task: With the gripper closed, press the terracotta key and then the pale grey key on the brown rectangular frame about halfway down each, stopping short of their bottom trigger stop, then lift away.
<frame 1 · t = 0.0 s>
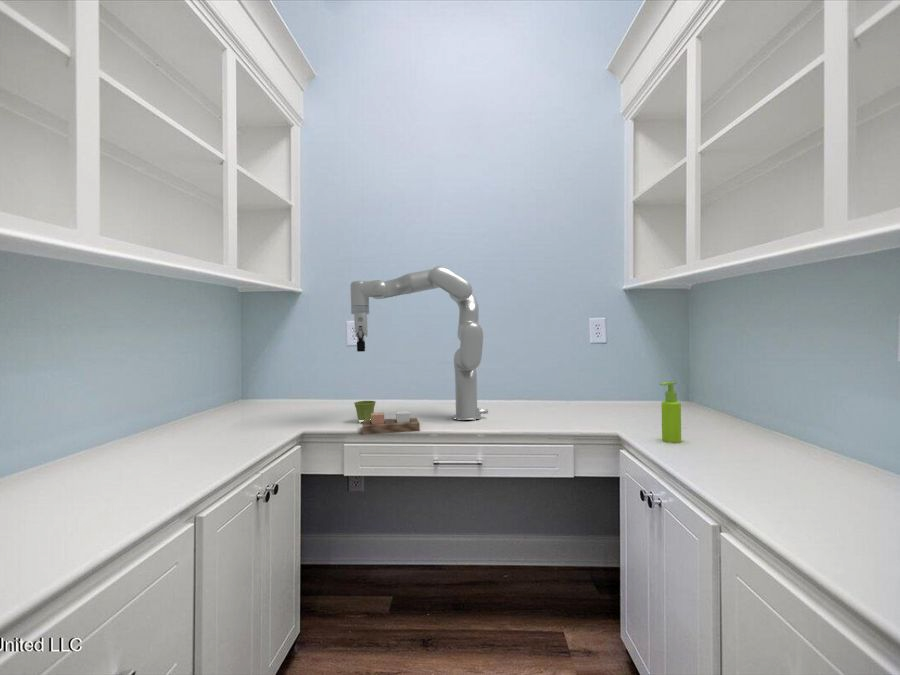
hand: (361, 350, 193), 31 cm above the worktop, fingers open, 9 cm apart
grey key: (402, 417, 184), point 4 cm above the worktop, slide at 0.0 cm
terracotta key: (377, 418, 182), point 4 cm above the worktop, slide at 0.0 cm
soap dispenser: (670, 441, 155), on the worktop
plant pot: (365, 422, 199), on the worktop
brown rectangular frame: (390, 429, 183), on the worktop
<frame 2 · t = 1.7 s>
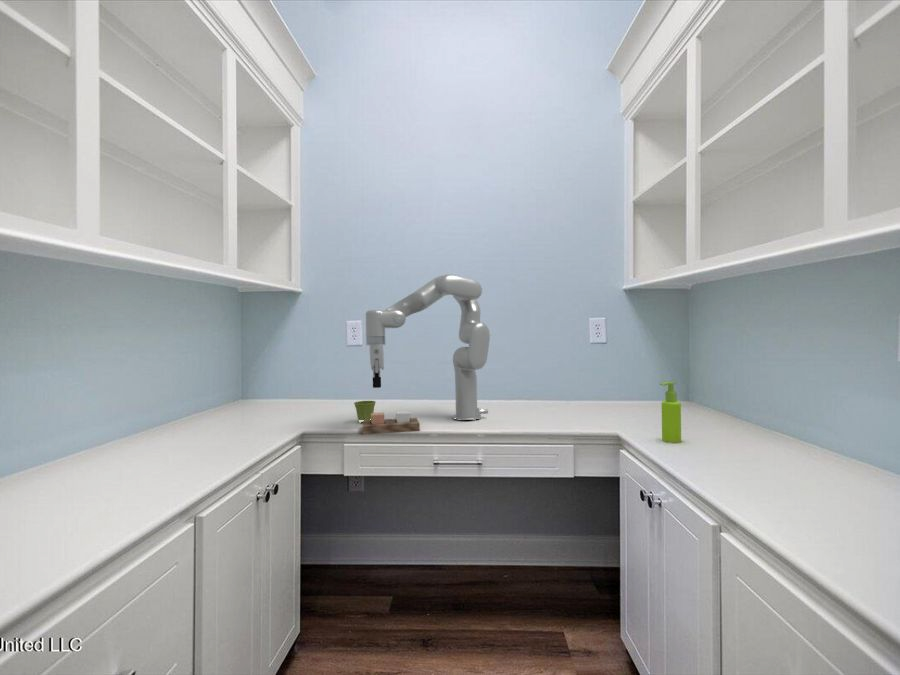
hand: (376, 387, 182), 17 cm above the worktop, fingers closed
nothing on the worktop moved.
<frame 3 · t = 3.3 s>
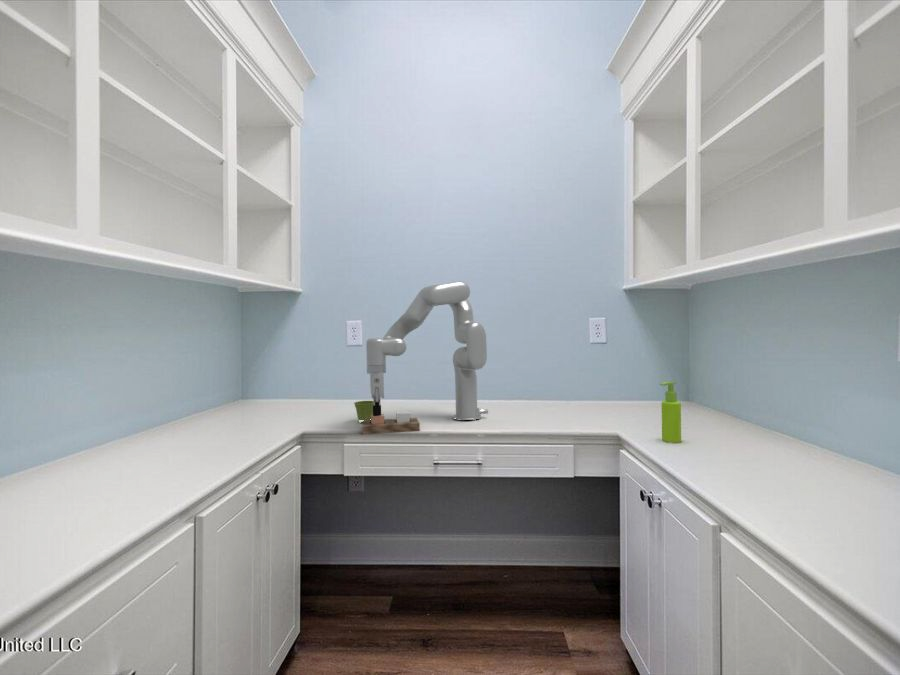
hand: (377, 415, 182), 6 cm above the worktop, fingers closed
terracotta key: (377, 420, 182), point 4 cm above the worktop, slide at 0.6 cm, touching gripper
everything else where it was.
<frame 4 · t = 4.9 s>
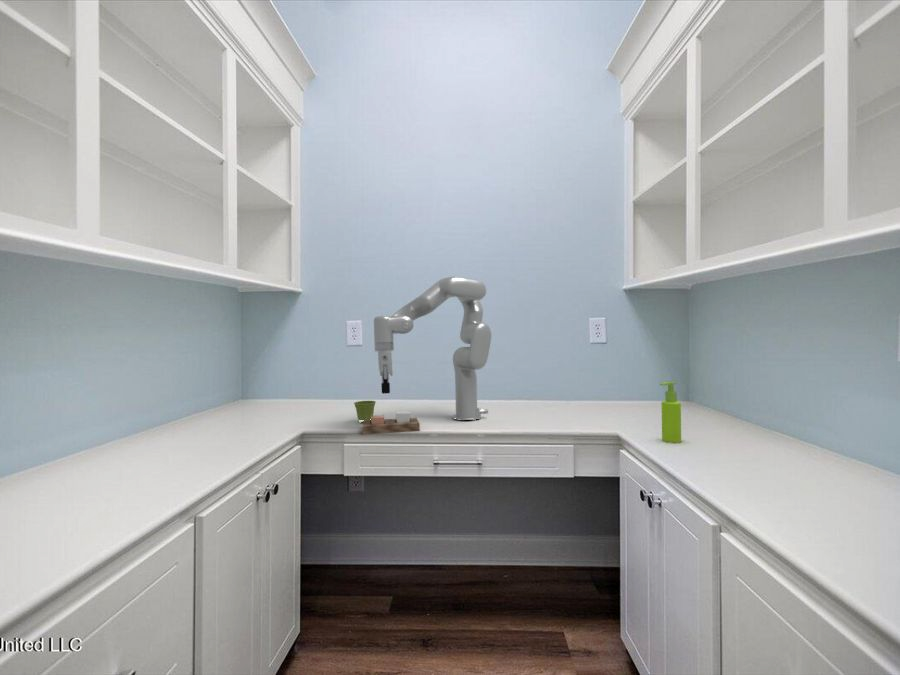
hand: (385, 393, 183), 15 cm above the worktop, fingers closed
terracotta key: (377, 421, 182), point 3 cm above the worktop, slide at 1.1 cm
everything else where it was.
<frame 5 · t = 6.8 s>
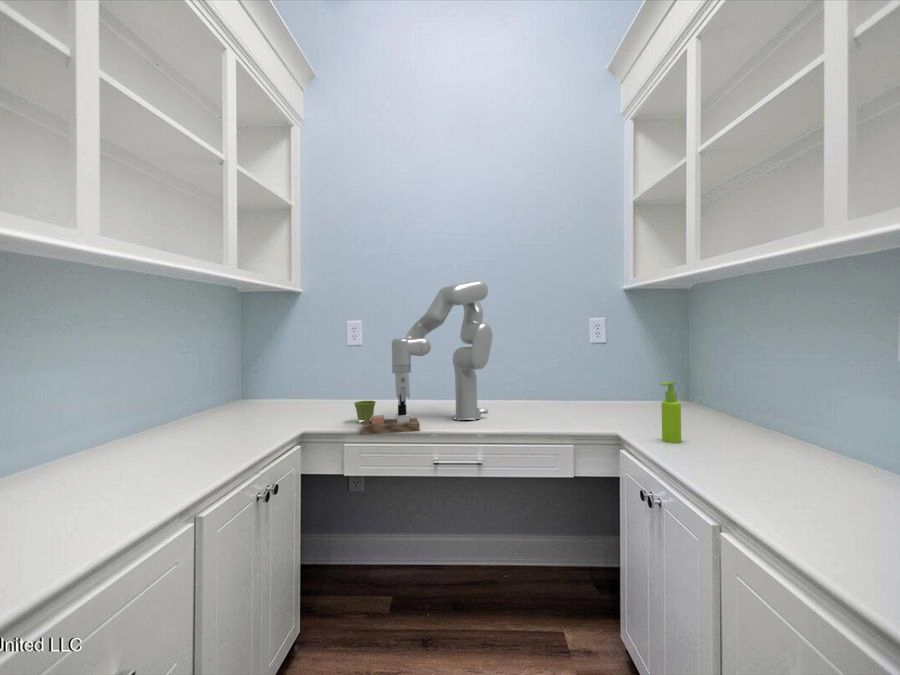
hand: (402, 414, 184), 6 cm above the worktop, fingers closed
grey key: (402, 419, 184), point 4 cm above the worktop, slide at 0.9 cm, touching gripper
everything else where it was.
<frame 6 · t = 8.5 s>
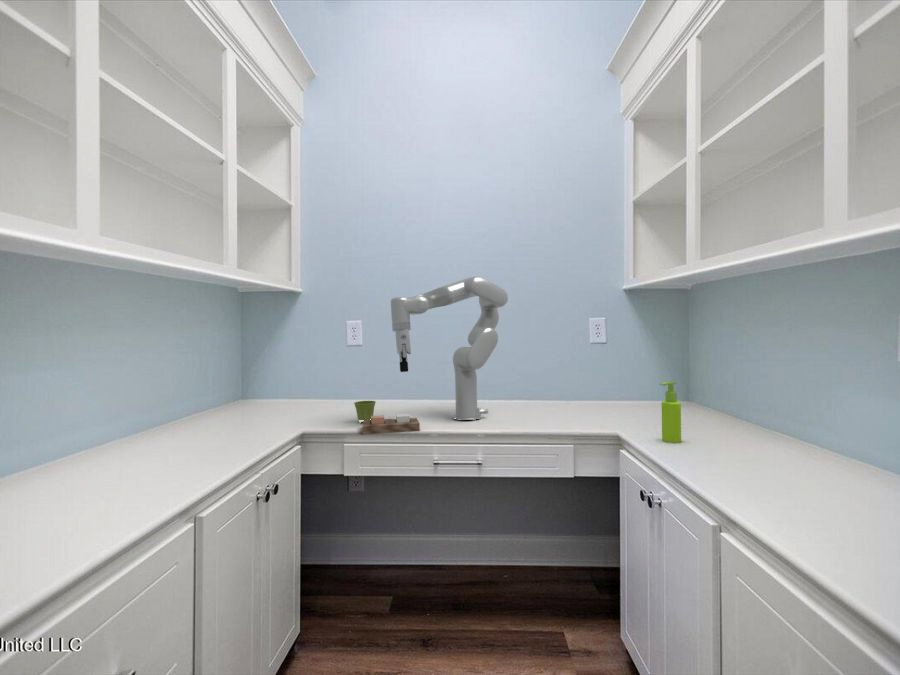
hand: (404, 371, 189), 22 cm above the worktop, fingers closed
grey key: (403, 420, 184), point 3 cm above the worktop, slide at 1.1 cm
everything else where it was.
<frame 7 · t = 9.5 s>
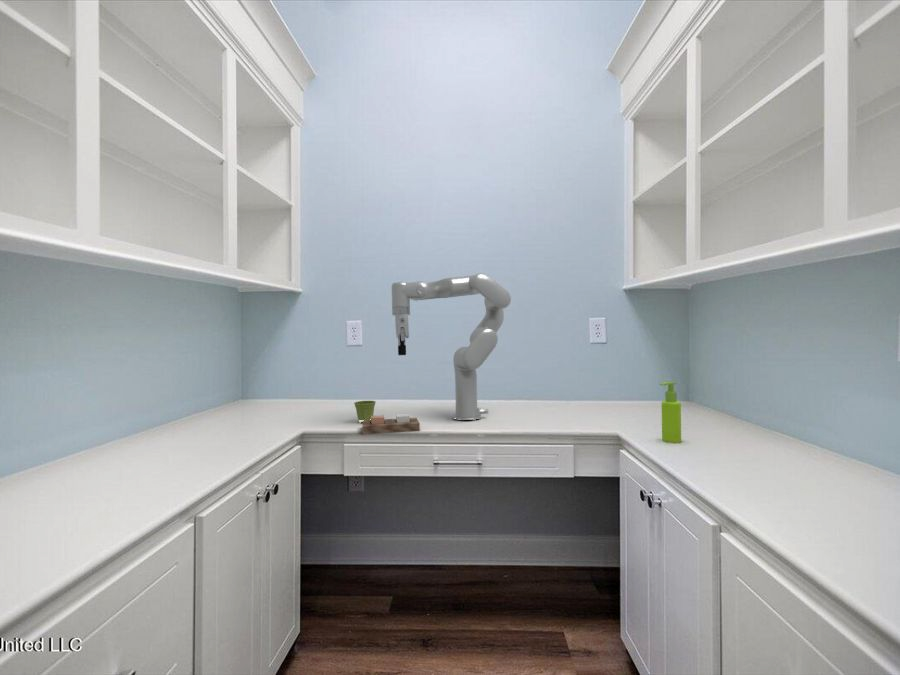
hand: (402, 355, 194), 29 cm above the worktop, fingers closed
nothing on the worktop moved.
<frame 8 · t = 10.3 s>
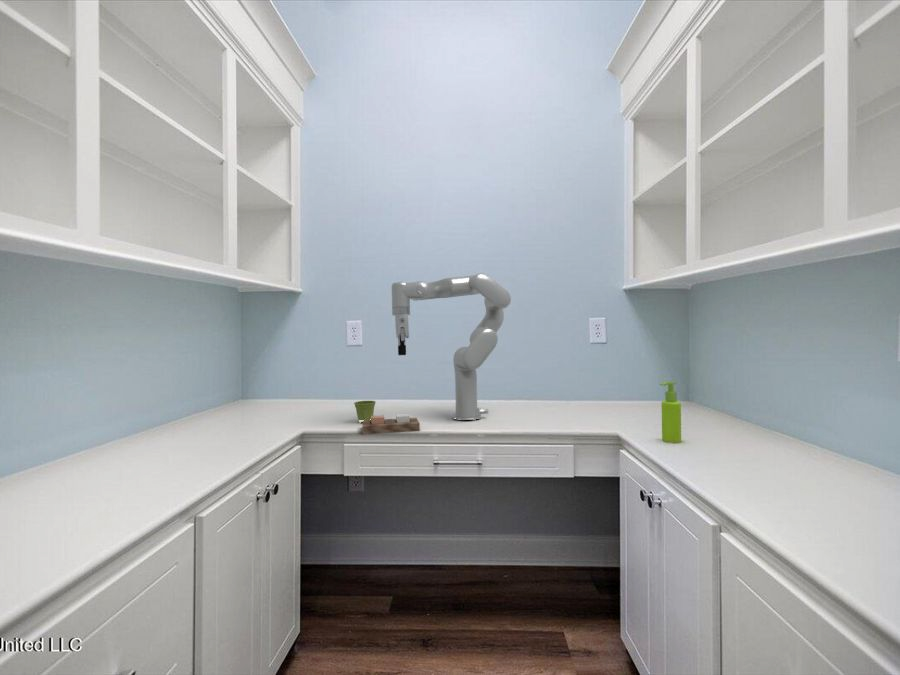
hand: (402, 355, 194), 29 cm above the worktop, fingers closed
nothing on the worktop moved.
at the end: terracotta key slide at 1.1 cm; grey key slide at 1.1 cm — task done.
